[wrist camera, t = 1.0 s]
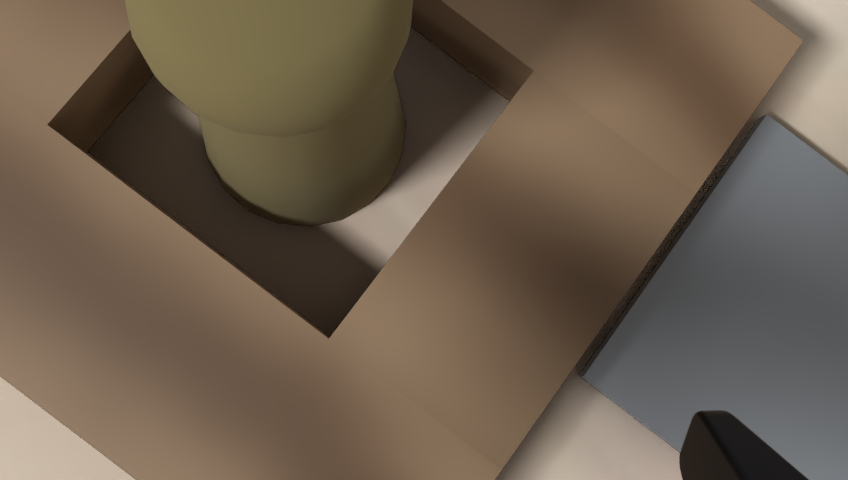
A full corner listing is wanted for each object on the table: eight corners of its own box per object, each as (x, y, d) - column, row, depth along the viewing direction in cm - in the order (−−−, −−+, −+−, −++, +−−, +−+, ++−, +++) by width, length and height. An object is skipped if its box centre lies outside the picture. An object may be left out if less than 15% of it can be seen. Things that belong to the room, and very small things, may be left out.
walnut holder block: (367, 614, 22) (369, 658, 19) (-197, 184, 22) (-282, 161, 19) (750, 75, 25) (803, 40, 22) (250, -303, 25) (236, -388, 22)
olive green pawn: (234, 7, 24) (131, -267, 13) (426, 59, 24) (483, -166, 13) (178, 197, 23) (18, 73, 12) (377, 249, 23) (396, 173, 12)
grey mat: (847, 579, 23) (857, 584, 23) (578, 375, 23) (583, 376, 23) (1012, 310, 25) (1025, 309, 24) (758, 118, 25) (766, 114, 24)
